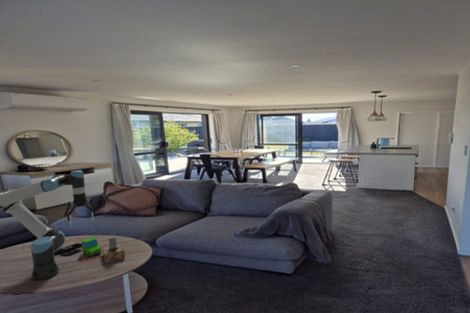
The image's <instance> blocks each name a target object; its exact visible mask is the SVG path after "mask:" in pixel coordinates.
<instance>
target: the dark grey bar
mask: <svg viewBox="0 0 470 313" xmlns="http://www.w3.org/2000/svg"><path fill="white" fill-rule="evenodd" d="M108 245H109V246H108V247H109V248H110V251H114V250H117V245H118V244H117V237H116V235H112V236H108Z"/></svg>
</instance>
